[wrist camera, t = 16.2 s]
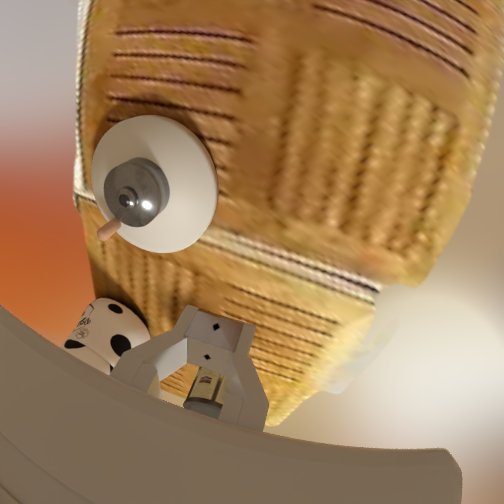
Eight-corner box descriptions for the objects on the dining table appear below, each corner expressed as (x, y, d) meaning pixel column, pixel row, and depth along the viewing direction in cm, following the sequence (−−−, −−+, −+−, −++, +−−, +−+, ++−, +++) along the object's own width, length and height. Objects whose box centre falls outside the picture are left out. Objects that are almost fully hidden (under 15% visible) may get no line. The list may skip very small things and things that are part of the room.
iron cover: (139, 144, 34) (118, 153, 30) (182, 192, 36) (166, 206, 33) (108, 184, 38) (89, 196, 35) (146, 226, 41) (130, 242, 37)
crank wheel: (148, 84, 31) (121, 87, 26) (250, 197, 37) (238, 217, 32) (82, 179, 41) (58, 192, 36) (160, 266, 47) (143, 288, 43)
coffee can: (229, 377, 64) (211, 426, 52) (196, 353, 61) (173, 404, 50) (259, 366, 58) (244, 423, 47) (225, 340, 56) (203, 398, 44)
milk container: (87, 282, 57) (41, 336, 43) (149, 303, 55) (105, 370, 41) (105, 331, 67) (71, 380, 53) (160, 352, 65) (129, 410, 50)
